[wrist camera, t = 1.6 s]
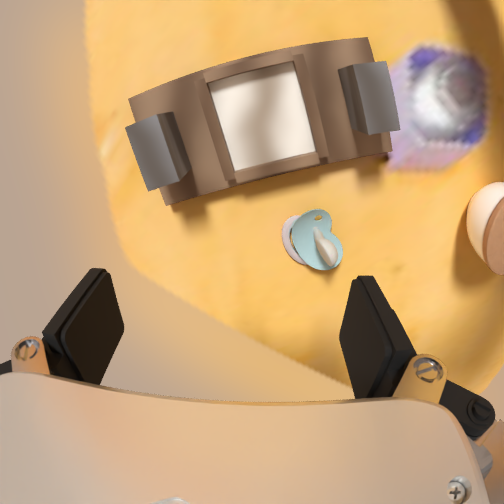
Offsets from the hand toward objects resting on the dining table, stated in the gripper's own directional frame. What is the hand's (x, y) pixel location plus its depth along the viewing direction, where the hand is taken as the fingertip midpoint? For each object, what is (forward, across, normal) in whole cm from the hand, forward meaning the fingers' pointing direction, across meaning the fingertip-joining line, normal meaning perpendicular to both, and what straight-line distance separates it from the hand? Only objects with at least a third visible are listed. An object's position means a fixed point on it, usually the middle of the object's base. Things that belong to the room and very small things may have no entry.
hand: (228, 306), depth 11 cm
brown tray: (+22, -2, -6) cm, 22 cm away
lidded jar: (+22, -31, +2) cm, 38 cm away
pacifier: (+22, -7, +7) cm, 24 cm away
